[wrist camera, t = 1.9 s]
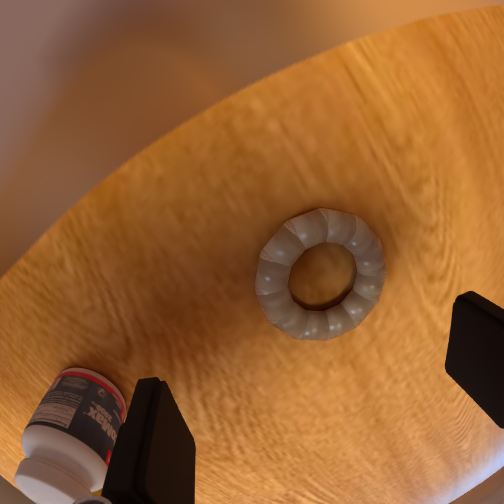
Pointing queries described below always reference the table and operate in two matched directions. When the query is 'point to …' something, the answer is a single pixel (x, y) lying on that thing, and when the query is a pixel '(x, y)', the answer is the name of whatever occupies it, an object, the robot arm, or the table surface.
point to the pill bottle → (70, 438)
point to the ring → (289, 250)
